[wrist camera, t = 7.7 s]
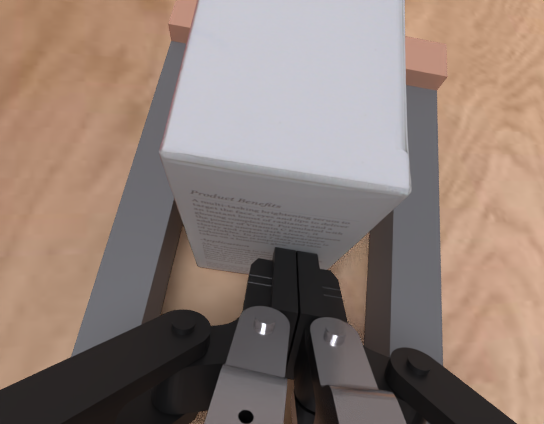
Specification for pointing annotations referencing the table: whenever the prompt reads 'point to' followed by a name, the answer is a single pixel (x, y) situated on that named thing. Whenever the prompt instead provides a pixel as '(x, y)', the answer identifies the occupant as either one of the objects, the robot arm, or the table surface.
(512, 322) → the table surface
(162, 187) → the dock
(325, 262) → the small box
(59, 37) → the table surface
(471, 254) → the table surface
